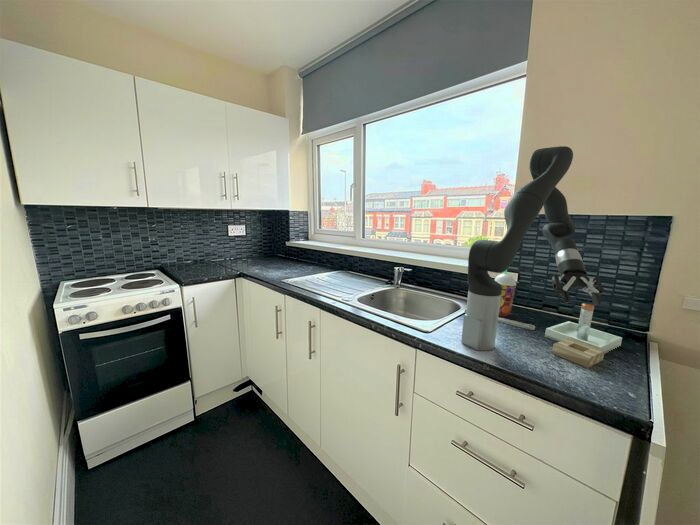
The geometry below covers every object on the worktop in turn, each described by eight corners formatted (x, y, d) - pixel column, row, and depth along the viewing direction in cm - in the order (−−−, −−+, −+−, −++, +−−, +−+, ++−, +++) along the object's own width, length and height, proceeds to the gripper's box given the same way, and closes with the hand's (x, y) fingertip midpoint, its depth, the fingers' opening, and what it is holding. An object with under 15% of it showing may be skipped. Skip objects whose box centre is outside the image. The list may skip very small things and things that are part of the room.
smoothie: (492, 309, 123) (497, 264, 119) (514, 313, 117) (520, 267, 114) (487, 314, 117) (492, 267, 113) (509, 319, 111) (515, 270, 108)
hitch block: (587, 368, 77) (589, 357, 77) (551, 353, 85) (553, 344, 84) (602, 360, 81) (604, 350, 81) (567, 347, 89) (568, 338, 89)
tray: (598, 356, 83) (600, 347, 83) (544, 336, 96) (545, 328, 96) (620, 346, 90) (622, 337, 90) (567, 328, 103) (568, 321, 103)
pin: (585, 341, 91) (591, 307, 89) (573, 338, 94) (580, 303, 91) (589, 339, 93) (596, 305, 90) (578, 336, 95) (584, 302, 93)
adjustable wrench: (535, 329, 103) (536, 325, 103) (531, 335, 99) (532, 330, 98) (467, 311, 120) (467, 307, 120) (461, 315, 116) (461, 311, 115)
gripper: (552, 256, 101) (564, 296, 92) (598, 259, 98) (614, 300, 89) (543, 268, 107) (553, 306, 98) (586, 270, 104) (600, 310, 95)
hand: (582, 303), depth 94 cm, fingers open, 8 cm apart
